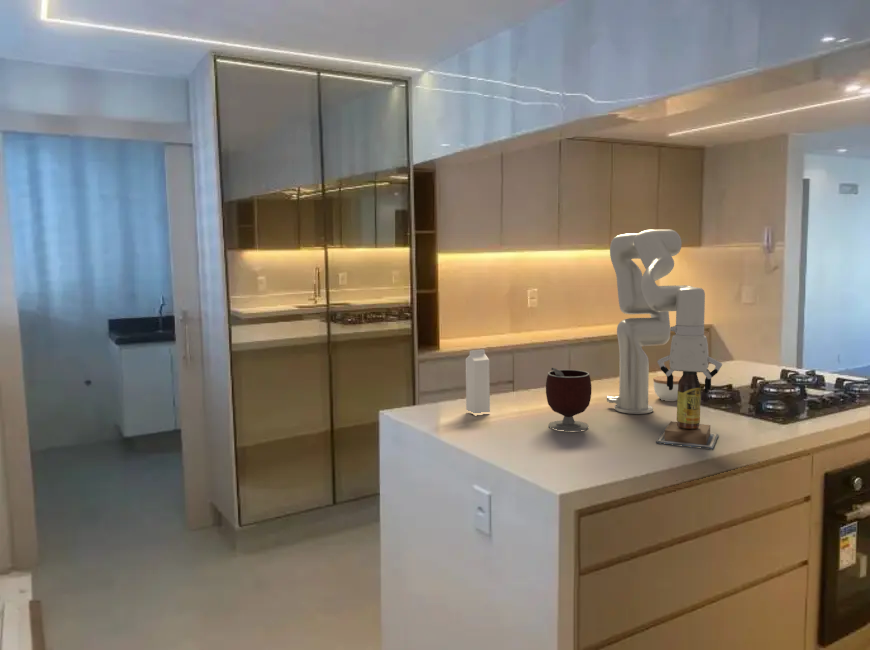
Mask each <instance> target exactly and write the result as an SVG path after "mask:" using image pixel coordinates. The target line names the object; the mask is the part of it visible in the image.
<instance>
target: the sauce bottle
mask: <svg viewBox="0 0 870 650" xmlns="http://www.w3.org/2000/svg"><path fill="white" fill-rule="evenodd" d="M701 397H702V387H701V384H700V380H699V377H698V372H684V371H682V375H681V378H680V380H679V383H678V398H677V400H676V422H677V426H678V427H679V428H683V429H696V428H698V427H699V424H701V422H700V421H701V404H702V402H701V401H702V400H701V399H702V398H701Z"/></svg>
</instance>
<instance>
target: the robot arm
mask: <svg viewBox="0 0 870 650" xmlns="http://www.w3.org/2000/svg"><path fill="white" fill-rule="evenodd" d="M681 249H682V238H681V236H680V234H679V233H678V232H677V230H673V229H646V230H642V231H640V232H638V233H635V232H633V233H623V234H618V235H615V236H614V237H613V238H612V240H611V242H610V247H609V256H610V257H609V258H610V261H611V263H612V267H613V269H614V272H615V276H616V286H617V287H616V288H617V298H618V305H619V309H620V311H621V312H622V314H626V315H649V316H650V317H630V318H624V319H623V320H621V321H620V322H619V323H618V324H617V326H616V336H617V342H618V343H617V344H618V350H619V351H618V352H619V374H618V375H619V379H618V380H619V382H618V383H619V388H618V390H619V391H618V393H619V395H618V396H617V395H616V396H611V395H607V397H606V402H608V403H609V404H615V405H614V410H615V411H617V412H619V413H621V414H622V413H623V414H629V415H630V414H631V415H644V414H650V413H652V412H653V411H654V408H653V407H654V406H652V405H649V379H650V378H649V377H650V376H649V373H650V370H649V368H650V366H649V363H650V361H649V357H648V355H647V354H646V352H645V351H644V350H643V348H642V347H646V346H647V347H649V346H650V347H652V346H664V345H666V344H667V343H668V342H669V341H670V338H671V343H670V352H669V355H666V356H664V357H662V358H659V359H658V360H657V361H656V362H657V364H658V367H659V368H660V370H661V371H662V372H663V374H664V375H665V376H667V387H669V390H672V389H673V376H674V375H673V373H674V372H683V371H684V372H697V373H703V375H704V376H705V378H704V393H706V394H708V393H709V390H710V391H711V389H712V378H713V377H714V376H716V375H717V374H718V373H719V371H720V369H721V368H722V366H723V363H722V362H720V361H719V360H717V359H715V358H713V357H711V356H709V345H708V338H707V336H706V335H705V310H706V309H705V305H706V303H705V302H706V301H705V300H706V293H705V290H704V289H703V288H702V287H696V286H695V287H694V286H692V285H658V284H657V283H656V281H659V280H660V279H662V278H664V277H666V276H668V275H669V274H670V273H671V272H672V271H673V269H674V267H675V261H674V259H673V258H674V257H675V256H677V255H678V254H679V253H680V252H681ZM633 259H635V260H637V259H638V260H639V259H640V261H641V263H642V265H643V267H644V269H645V270H644V272H642V270H641V268H640V267H639V266H638V265H637V263H636V262H635V261H633ZM670 312H675V325H673V326H671V323H670V322H671V321H670ZM671 332H674V333H675V334H673V335H672V337H671ZM666 362H669V369H668V367H667V366H666V365H665V363H666ZM709 363H710V364H712V365H714V366H715V367H714V369H713V370H712V371H711V370H709V365H710V364H709Z"/></svg>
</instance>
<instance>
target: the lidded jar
mask: <svg viewBox="0 0 870 650" xmlns="http://www.w3.org/2000/svg"><path fill="white" fill-rule="evenodd" d="M681 377H682V376H681ZM681 377H680V376H674V375H673V389H672V390H669V387H667V376H666V375H659V376H654V377H653V389H654V390H653V391H654V393H655V395H656V396H657V397H658V398H659V400H660V399H661V401H663V400H665V402H677V398H678V383H679V380H680V378H681Z"/></svg>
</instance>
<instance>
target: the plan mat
mask: <svg viewBox="0 0 870 650" xmlns="http://www.w3.org/2000/svg"><path fill="white" fill-rule="evenodd" d="M718 438H719V433H711V424H703V423H699V427H698V428H696V429H683V428H679V427H678V426H677V421H674V420H673V421H670V422H669V423H668V425H667V426H666V428H664V429H663V431H662V432H661V434H660V435H659V437H658V438H657V439H656V441H655V444H656V443H665V444H673V445H672V446H674V445H682V446H681V447H683V446H691V447H690V448H692V447H701V448H709V449H708V450H710V449H713V450H714V448H715V446H716V443H717V441H718ZM716 440H717V441H716ZM715 442H716V443H715ZM714 445H715V446H714ZM713 447H714V448H713ZM701 448H700V449H701Z"/></svg>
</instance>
